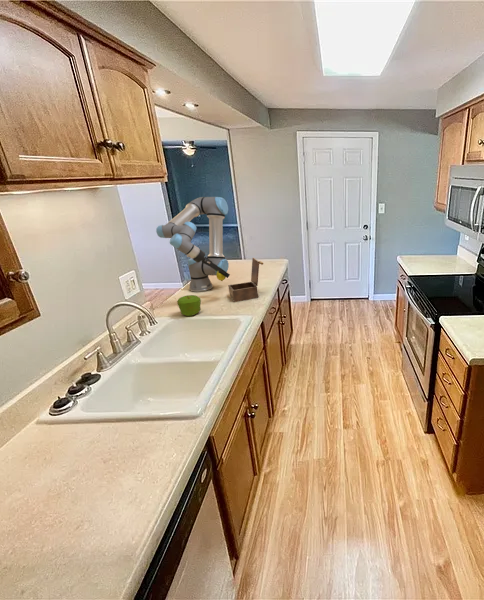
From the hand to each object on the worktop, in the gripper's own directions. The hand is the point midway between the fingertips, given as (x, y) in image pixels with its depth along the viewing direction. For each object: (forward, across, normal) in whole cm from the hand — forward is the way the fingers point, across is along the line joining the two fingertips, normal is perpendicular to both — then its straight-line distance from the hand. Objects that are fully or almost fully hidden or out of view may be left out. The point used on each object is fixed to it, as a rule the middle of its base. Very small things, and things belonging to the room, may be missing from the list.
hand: (226, 274), depth 214 cm
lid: (+12, +6, +12) cm, 18 cm away
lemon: (0, 0, -5) cm, 5 cm away
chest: (+17, +4, -6) cm, 19 cm away
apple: (-8, +12, -31) cm, 34 cm away
